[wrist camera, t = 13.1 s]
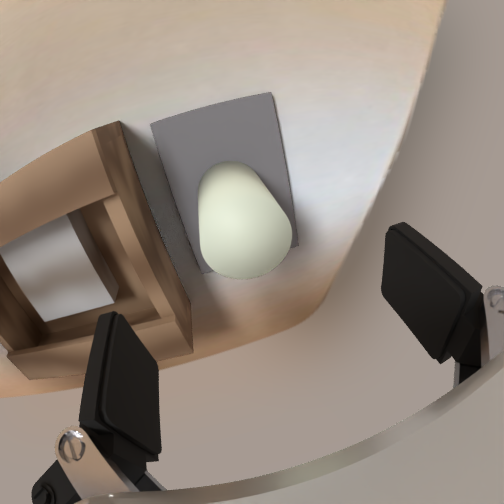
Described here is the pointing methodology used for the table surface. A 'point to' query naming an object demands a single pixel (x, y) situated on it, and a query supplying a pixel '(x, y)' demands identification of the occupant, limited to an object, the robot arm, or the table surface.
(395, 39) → the table surface
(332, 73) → the table surface
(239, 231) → the sage cylinder
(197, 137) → the rubber mat
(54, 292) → the walnut box
